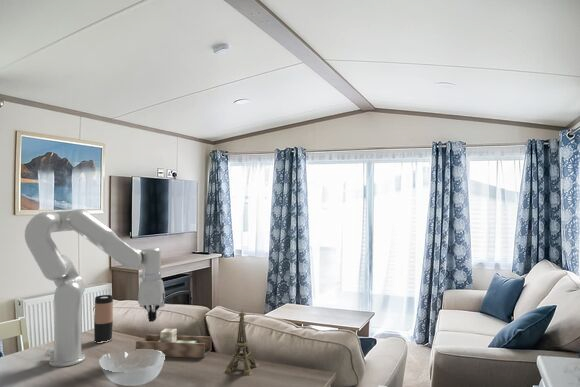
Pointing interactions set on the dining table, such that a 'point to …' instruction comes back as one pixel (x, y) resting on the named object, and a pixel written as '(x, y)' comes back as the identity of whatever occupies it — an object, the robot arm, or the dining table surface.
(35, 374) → the dining table surface
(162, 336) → the block
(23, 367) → the dining table surface
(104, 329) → the travel mug
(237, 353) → the eiffel tower
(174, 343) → the box
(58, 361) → the robot arm
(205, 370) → the dining table surface
